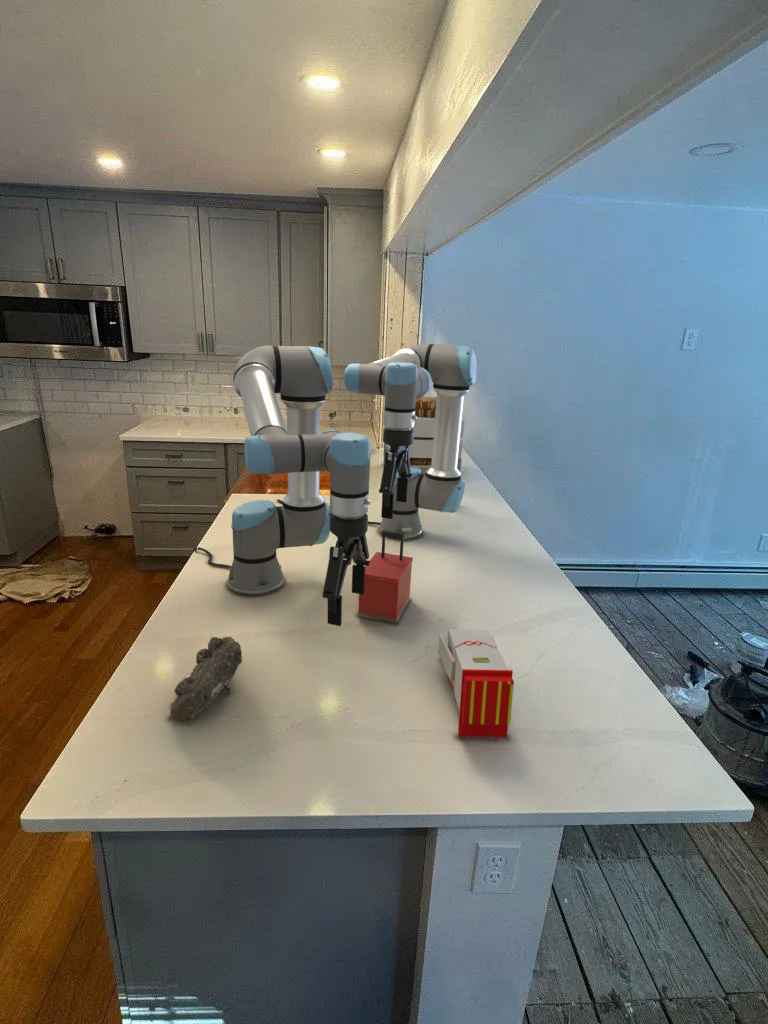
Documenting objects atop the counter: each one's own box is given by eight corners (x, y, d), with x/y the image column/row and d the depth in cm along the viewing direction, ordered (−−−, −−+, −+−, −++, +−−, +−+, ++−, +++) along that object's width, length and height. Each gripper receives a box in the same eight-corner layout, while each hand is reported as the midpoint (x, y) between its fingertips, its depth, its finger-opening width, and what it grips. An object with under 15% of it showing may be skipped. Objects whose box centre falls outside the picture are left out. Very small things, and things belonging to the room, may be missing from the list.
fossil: (193, 639, 125) (242, 608, 120) (224, 667, 128) (272, 638, 123) (147, 714, 105) (202, 680, 100) (184, 746, 108) (239, 715, 103)
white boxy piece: (382, 463, 289) (386, 382, 275) (445, 464, 293) (451, 384, 279) (390, 482, 257) (394, 392, 243) (460, 483, 261) (468, 394, 247)
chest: (374, 592, 158) (375, 556, 154) (409, 599, 155) (411, 562, 152) (358, 616, 146) (359, 577, 142) (396, 623, 143) (398, 584, 139)
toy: (488, 613, 130) (523, 677, 101) (484, 667, 133) (517, 744, 104) (435, 612, 130) (455, 676, 101) (432, 666, 133) (451, 743, 103)
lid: (376, 555, 155) (377, 525, 152) (412, 561, 152) (414, 530, 149) (359, 577, 142) (360, 544, 139) (398, 584, 139) (400, 550, 136)
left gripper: (343, 539, 99) (341, 643, 106) (386, 496, 121) (382, 584, 129) (304, 532, 101) (304, 634, 108) (353, 491, 123) (351, 578, 131)
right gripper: (400, 439, 127) (395, 527, 134) (425, 420, 149) (419, 497, 156) (368, 436, 129) (365, 523, 136) (397, 418, 151) (393, 493, 158)
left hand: (346, 607), depth 119 cm, fingers open, 13 cm apart
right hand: (394, 509), depth 146 cm, fingers open, 13 cm apart
